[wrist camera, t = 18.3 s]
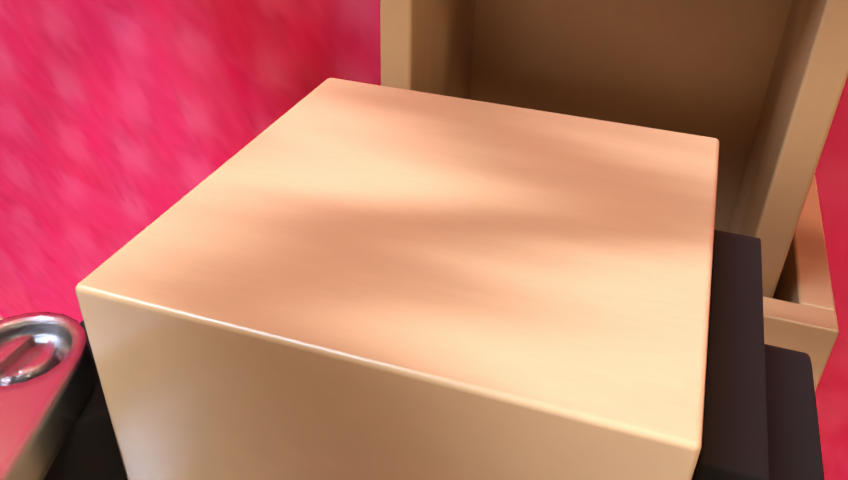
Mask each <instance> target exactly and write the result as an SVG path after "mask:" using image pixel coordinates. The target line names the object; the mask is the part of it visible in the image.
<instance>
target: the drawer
mask: <svg viewBox="0 0 848 480" xmlns="http://www.w3.org/2000/svg"><path fill="white" fill-rule="evenodd" d="M380 31H381V86H387V87H393V88H400V89H406V90H412V91H419V92H425V93H431V94H438V95H444V96H450V97H457V98H463V99H470V100H476V101H482V102H489V103H495V104H501V105H508V106H514V107H520V108H527V109H533V110H540V111H546V112H552V113H559V114H565V115H571V116H578V117H584V118H590V119H597V120H603V121H609V122H616V123H622V124H629V125H635V126H641V127H648V128H654V129H660V130H667V131H673V132H679V133H686V134H692V135H699V136H705V137H711V138H716V139H718V140H719V158H718V175H717V192H716V209H715V226H714V230H719V231H724V232H730V233H735V234H740V235H746V236H751V237H756V238H760V239H761V256H762V286H763V297H768V298H773V296H774V293H775V290H776V287H777V284H778V281H779V278H780V275H781V272H782V269H783V266H784V263H785V260H786V257H787V254H788V251H789V248H790V245H791V242H792V239H793V236H794V233H795V230H796V227H797V224H798V222H799V219H800V216H801V213H802V210H803V207H804V204H805V201H806V198H807V195H808V192H809V189H810V186H811V183H812V180H813V177H814V174H815V171H816V168H817V165H818V162H819V159H820V156H821V153H822V150H823V147H824V145H825V142H826V139H827V136H828V133H829V130H830V127H831V124H832V121H833V118H834V115H835V112H836V109H837V106H838V103H839V100H840V97H841V94H842V91H843V88H844V85H845V82H846V79H847V76H848V0H380Z"/></svg>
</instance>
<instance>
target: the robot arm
mask: <svg viewBox="0 0 848 480" xmlns="http://www.w3.org/2000/svg"><path fill="white" fill-rule="evenodd" d="M0 480H127V476H126V473H125V469H124V465H123V462H122V458H121V454H120V451H119V447H118V443H117V440H116V436H115V433H114V429H113V425H112V422H111V418H110V414H109V411H108V407H107V404H106V400H105V396H104V393H103V389H102V385H101V382H100V378H99V375H98V371H97V367H96V364H95V360H94V356H93V353H92V349H91V346H90V342H89V338H88V335H87V331H86V327H85V324H84V320H83V321H82V322H81V323H80V324H79V323H78V321H76V320H74V319H72V318H70V317H68V316H66V315H63V314H57V313H50V312H38V313H26V314H22V315H17V316H13V317H8V318H6V319H3V320H0ZM691 480H824V472H823V463H822V454H821V444H820V435H819V426H818V417H817V407H816V398H815V389H814V379H813V370H812V363H811V359H810V356H809V355H808V354H807V353H804V352H799V351H795V350H790V349H786V348H781V347H776V346H772V345H767V344H764V316H763V286H762V256H761V239H760V238H756V237H751V236H746V235H740V234H735V233H730V232H724V231H719V230H714V243H713V260H712V277H711V295H710V312H709V329H708V346H707V363H706V380H705V397H704V414H703V431H702V448H701V451H700V454H699V457H698V461H697V464H696V467H695V470H694V473H693V476H692V479H691Z"/></svg>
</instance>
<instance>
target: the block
mask: <svg viewBox="0 0 848 480" xmlns="http://www.w3.org/2000/svg"><path fill="white" fill-rule="evenodd" d="M718 158H719V140H718V139H716V138H711V137H705V136H699V135H692V134H686V133H679V132H673V131H667V130H660V129H654V128H648V127H641V126H635V125H629V124H622V123H616V122H609V121H603V120H597V119H590V118H584V117H578V116H571V115H565V114H559V113H552V112H546V111H540V110H533V109H527V108H520V107H514V106H508V105H501V104H495V103H489V102H482V101H476V100H470V99H463V98H457V97H450V96H444V95H438V94H431V93H425V92H419V91H412V90H406V89H400V88H393V87H387V86H380V85H374V84H368V83H361V82H355V81H349V80H342V79H336V78H327V79H326V80H325V81H324V82H323V83H321V84H320V85H319V86H318V87H316V88H315V89H314V90H313V91H312V92H310V93H309V94H308V95H307V96H306V97H304V98H303V99H302V100H301V101H299V102H298V103H297V104H296V105H295V106H293V107H292V108H291V109H290V110H288V111H287V112H286V113H285V114H284V115H282V116H281V117H280V118H279V119H278V120H276V121H275V122H274V123H273V124H271V125H270V126H269V127H268V128H267V129H265V130H264V131H263V132H262V133H261V134H259V135H258V136H257V137H256V138H254V139H253V140H252V141H251V142H250V143H248V144H247V145H246V146H245V147H244V148H242V149H241V150H240V151H239V152H237V153H236V154H235V155H234V156H233V157H231V158H230V159H229V160H228V161H226V162H225V163H224V164H223V165H222V166H220V167H219V168H218V169H217V170H216V171H214V172H213V173H212V174H211V175H209V176H208V177H207V178H206V179H205V180H203V181H202V182H201V183H200V184H199V185H197V186H196V187H195V188H194V189H192V190H191V191H190V192H189V193H188V194H186V195H185V196H184V197H183V198H182V199H180V200H179V201H178V202H177V203H175V204H174V205H173V206H172V207H171V208H169V209H168V210H167V211H166V212H164V213H163V214H162V215H161V216H160V217H158V218H157V219H156V220H155V221H154V222H152V223H151V224H150V225H149V226H147V227H146V228H145V229H144V230H143V231H141V232H140V233H139V234H138V235H137V236H135V237H134V238H133V239H132V240H130V241H129V242H128V243H127V244H126V245H124V246H123V247H122V248H121V249H119V250H118V251H117V252H116V253H115V254H113V255H112V256H111V257H110V258H109V259H107V260H106V261H105V262H104V263H102V264H101V265H100V266H99V267H98V268H96V269H95V270H94V271H93V272H92V273H90V274H89V275H88V276H87V277H85V278H84V279H83V280H82V281H81V282H79V283H78V284H77V286H76V290H75V291H76V295H77V298H78V302H79V306H80V309H81V313H82V317H83V320H84V324H85V327H86V331H87V335H88V338H89V342H90V346H91V349H92V353H93V356H94V360H95V364H96V367H97V371H98V375H99V378H100V382H101V385H102V389H103V393H104V396H105V400H106V404H107V407H108V411H109V414H110V418H111V422H112V425H113V429H114V433H115V436H116V440H117V443H118V447H119V451H120V454H121V458H122V462H123V465H124V469H125V473H126V476H127V480H691V479H692V476H693V473H694V470H695V467H696V464H697V461H698V457H699V454H700V451H701V448H702V431H703V414H704V397H705V380H706V363H707V346H708V329H709V312H710V295H711V277H712V260H713V243H714V226H715V209H716V192H717V175H718Z"/></svg>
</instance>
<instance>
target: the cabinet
mask: <svg viewBox="0 0 848 480" xmlns="http://www.w3.org/2000/svg"><path fill="white" fill-rule="evenodd" d="M815 175H816V174H814V177H813V180H812V183H811V186H810V189H809V192H808V195H807V198H806V201H805V204H804V207H803V210H802V213H801V216H800V219H799V222H798V224H797V227H796V230H795V233H794V236H793V239H792V242H791V245H790V248H789V251H788V254H787V257H786V260H785V263H784V266H783V269H782V272H781V275H780V278H779V281H778V284H777V287H776V290H775V293H774V296H773V298H768V297H763V316H764V344H767V345H772V346H776V347H781V348H786V349H790V350H795V351H799V352H804V353H807V354H808V355H809V356H810V359H811V363H812V370H813V379H814V389H815V390H816V388H817V385H818V383H819V380H820V378H821V375H822V373H823V371H824V368H825V366H826V363H827V361H828V358H829V356H830V353H831V351H832V349H833V346H834V344H835V341H836V339H837V336H838V334H839V328H838V321H837V315H836V312H835V304H834V297H833V291H832V284H831V277H830V271H829V264H828V258H827V251H826V244H825V238H824V231H823V224H822V218H821V211H820V204H819V198H818V191H817V184H816V178H815Z"/></svg>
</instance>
